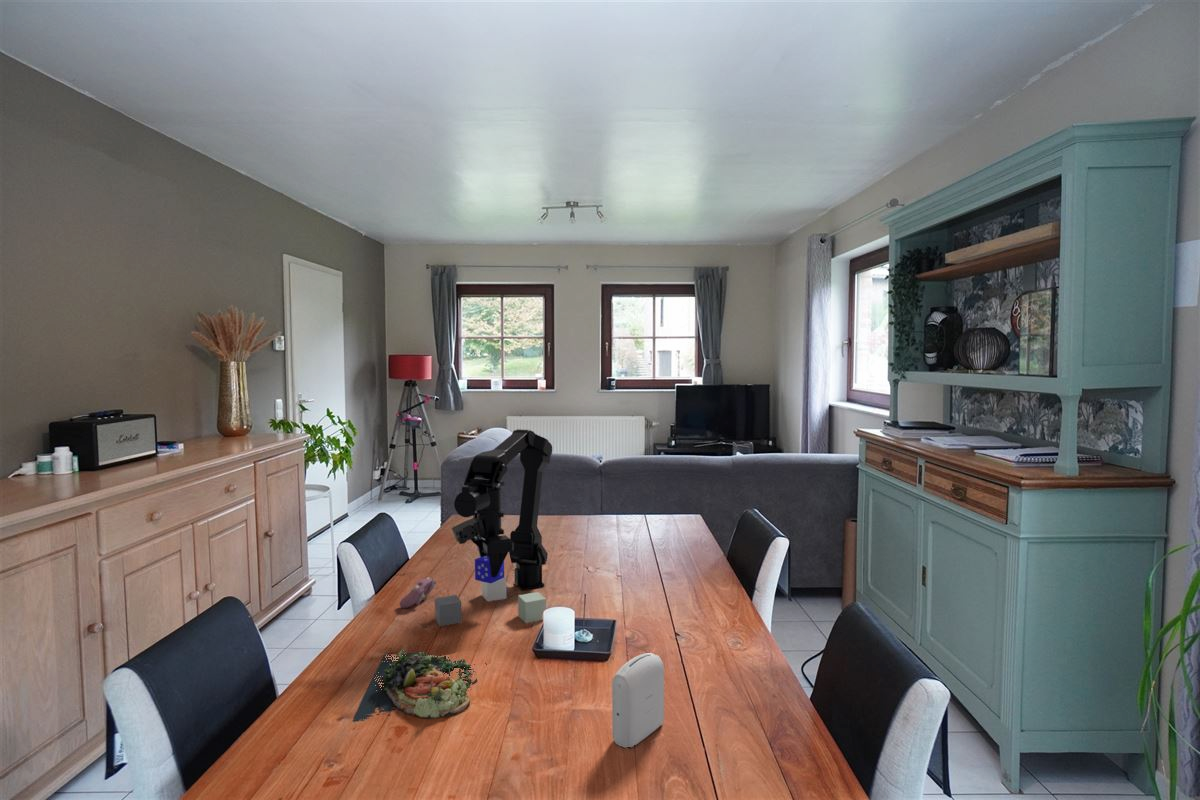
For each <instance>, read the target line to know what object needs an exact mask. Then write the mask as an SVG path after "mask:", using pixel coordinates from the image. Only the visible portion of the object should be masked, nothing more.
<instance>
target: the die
mask: <svg viewBox="0 0 1200 800" xmlns="http://www.w3.org/2000/svg"><path fill="white" fill-rule="evenodd" d="M502 578H505V561H504V562H503V564H502V566H501V568H500V570H499V573H498V575H497V577H492V575H491V570H490V564H489V558H488V556H487V555H485V556H482V557H480V556H479V557H477V558H475V559H474V580H475V581H477V582H478V581H479V582H481V583H482V582H487V583H493V582H495V581H498V580H500V579H502Z"/></svg>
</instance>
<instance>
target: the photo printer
mask: <svg viewBox="0 0 1200 800" xmlns="http://www.w3.org/2000/svg"><path fill="white" fill-rule="evenodd" d="M664 669H665V667H664V663H663V660H662V659H661V657H660V656H659V655H658V654H654V653H652V652H648V653H647V652H646V653H641V654H638V655H637V656H635V657H633V658H631V659H630V660H628V661H627V662H626V663H624V664H623V665H622V666H621V667H620V668H619V669H618V670H617V671H616V672H615V674H614V676H613V678H612V682H611V688H612V689H611V691H612V692H611V694H612V696H611V698H612V701H611V703H612V705H611V706H612V711H611V713H612V716H611V719H612V720H611V721H612V722H611V723H612V724H611V725H612V726H611V727H612V728H611V729H612V739H613V741H614V742H615V745H617V744H618V745H619V746H618V745H617V746H618V747H620V746H622V747H631V748H634V747H635V746H637V744H639V743H641V742H642V741H643V740H645V739H646V738H647V737H649V736H650V735H651V734H652V733H654V732H655V731H656V730H657V729H659V728H660V726H662V724H663V723H664V720H665V719H664V718H665V703H664V702H665V697H664V696H665V671H664ZM634 745H635V746H634ZM622 747H621V748H622Z"/></svg>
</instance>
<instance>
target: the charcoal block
mask: <svg viewBox="0 0 1200 800" xmlns="http://www.w3.org/2000/svg"><path fill="white" fill-rule="evenodd" d="M462 608H463V607H462V600H461V599H460V598H459V597H458V595H457V594H454V595H453V594H452V595H446V596H440V597H435V598H434V619H435V621H436V622H437V624H438V626H439V627H440V626H441V627H445V626H444V625H447V626H451V625H450V624H452V625H455V623H458V624H461V623H460V622H462V623H463V620H462V619H463V618H462V615H463V613H462V611H463V610H462Z"/></svg>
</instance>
